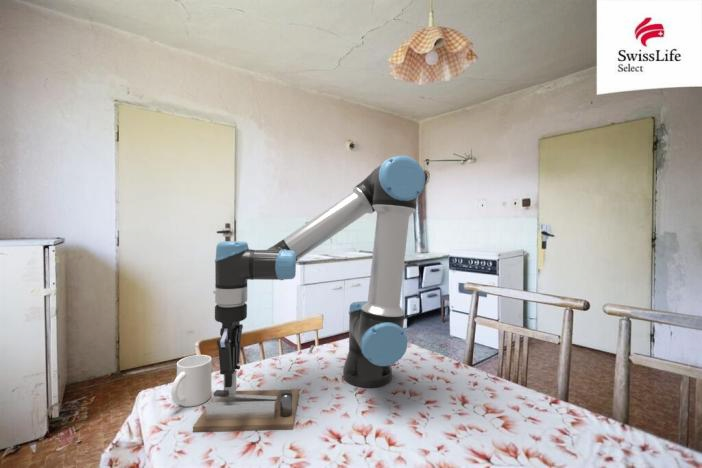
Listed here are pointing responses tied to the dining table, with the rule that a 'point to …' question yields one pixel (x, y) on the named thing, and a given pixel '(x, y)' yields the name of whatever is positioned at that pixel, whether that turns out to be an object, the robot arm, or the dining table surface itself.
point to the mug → (192, 381)
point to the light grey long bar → (241, 397)
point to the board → (251, 424)
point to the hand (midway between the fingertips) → (229, 397)
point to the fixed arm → (249, 409)
